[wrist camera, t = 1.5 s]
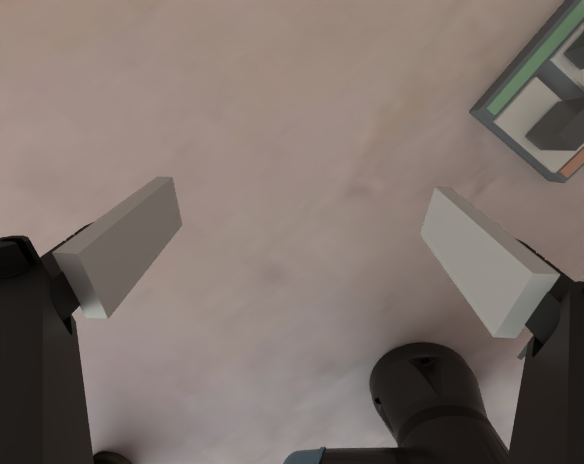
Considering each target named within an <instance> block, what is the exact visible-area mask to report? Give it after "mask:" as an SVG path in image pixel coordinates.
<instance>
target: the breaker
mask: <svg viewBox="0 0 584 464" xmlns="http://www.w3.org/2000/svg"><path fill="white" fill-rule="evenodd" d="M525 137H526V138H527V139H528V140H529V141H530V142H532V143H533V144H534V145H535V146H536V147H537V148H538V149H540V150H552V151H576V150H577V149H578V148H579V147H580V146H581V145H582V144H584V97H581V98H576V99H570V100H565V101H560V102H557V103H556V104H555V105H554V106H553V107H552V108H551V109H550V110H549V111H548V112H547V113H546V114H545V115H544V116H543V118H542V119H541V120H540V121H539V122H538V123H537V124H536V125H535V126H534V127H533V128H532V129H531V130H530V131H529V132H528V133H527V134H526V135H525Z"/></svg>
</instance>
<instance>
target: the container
mask: <svg viewBox="0 0 584 464" xmlns="http://www.w3.org/2000/svg"><path fill="white" fill-rule="evenodd" d="M93 461H94V464H131V463H130V462H129V461H128V460H127V459H125V458H124V457H122V456H120V455H118V454H115V453H111V452H100V453H97V454H95V455H94V456H93Z"/></svg>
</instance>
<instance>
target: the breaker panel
mask: <svg viewBox="0 0 584 464" xmlns="http://www.w3.org/2000/svg"><path fill="white" fill-rule="evenodd" d="M583 31H584V0H565V2H564V3H563V4H562V5H561V6H560V7H559V9H558V10H557V11H556V12H555V13H554V14H553V15H552V17H551V18H550V19H549V20H548V21H547V22H546V24H545V25H544V26H543V27H542V28H541V29H540V30H539V32H538V33H537V34H536V35H535V36H534V37H533V39H532V40H531V41H530V42H529V43H528V44H527V45H526V47H525V48H524V49H523V50H522V51H521V52H520V54H519V55H518V56H517V57H516V58H515V59H514V60H513V62H512V63H511V64H510V65H509V66H508V67H507V69H506V70H505V71H504V72H503V73H502V74H501V75H500V77H499V78H498V79H497V80H496V81H495V82H494V84H493V85H492V86H491V87H490V88H489V89H488V90H487V92H486V93H485V94H484V95H483V96H482V97H481V99H480V100H479V101H478V102H477V103H476V104H475V105H474V107H473V108H472V109H471V110H470V111H469V112H470V113H471V114H472V115H473V116H474V117H475V118H477V119H478V120H479V121H480V122H481V123H482V124H483V125H485V126H486V127H487V128H488V129H489V130H490V131H492V132H493V133H494V134H495V135H496V136H497V137H499V138H500V139H501V140H502V141H503V142H504V143H506V144H507V145H508V146H509V147H510V148H511V149H512V150H514V151H515V152H516V153H517V154H518V155H519V156H521V157H522V158H523V159H524V160H525V161H526V162H528V163H529V164H530V165H531V166H532V167H533V168H535V169H536V170H537V171H538V172H539V173H540V174H541V175H543V176H544V177H545V178H546V179H547V180H548V181H552V182H559V183H565V182H566V181H567V180H568V179H569V178H570V177H571V176H572V175H573V174H574V173H576V172H577V171H578V170H579V169H580V168H581V167H582V166H583V165H584V144H582V145H581V146H580V147H579V148H578V149H577V150H576V151H552V150H540V149H538V148H537V147H536V146H535V145H534V144H533V143H532V142H530V141H529V140H528V139H527V138H526V137H525V135H526V134H527V133H528V132H529V131H530V130H531V129H532V128H533V127H534V126H535V125H536V124H537V123H538V122H539V121H540V120H541V119H542V118H543V116H544V115H545V114H546V113H547V112H548V111H549V110H550V109H551V108H552V107H553V106H554V105H555V104H556V103H557V102H560V101H565V100H570V99H576V98H581V97H584V69H582V70H579V69H578V68H577V67H576V66H575V65H574V64H573V63H572V62H571V61H570V60H569V59H568V58H567V57H566V56H565V55H564V54H563V53H564V52H565V51H566V50H567V49H568V48H569V47H570V46H571V45H572V43H573V42H574V41H575V40H576V39H577V38H578V37H579V36H580V35H581V34H582V32H583Z"/></svg>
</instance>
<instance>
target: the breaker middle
mask: <svg viewBox="0 0 584 464" xmlns="http://www.w3.org/2000/svg"><path fill="white" fill-rule="evenodd" d="M563 54H564V55H565V56H566V57H567V58H568V59H569V60H570V61H571V62H572V63H573V64H574V65H575V66H576V67H577V68H578V69H579V70H582V69H584V31H583V32H582V34H581V35H580V36H579V37H578V38H577V39H576V40H575V41H574V42H573V43H572V45H571V46H570V47H569V48H568V49H567V50H566V51H565V52H564V53H563Z"/></svg>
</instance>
